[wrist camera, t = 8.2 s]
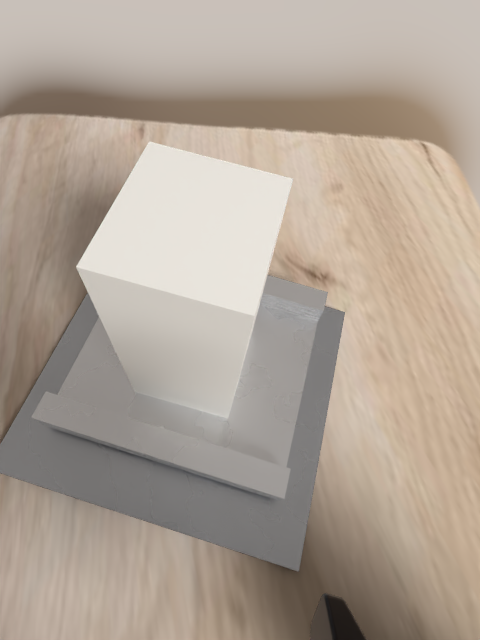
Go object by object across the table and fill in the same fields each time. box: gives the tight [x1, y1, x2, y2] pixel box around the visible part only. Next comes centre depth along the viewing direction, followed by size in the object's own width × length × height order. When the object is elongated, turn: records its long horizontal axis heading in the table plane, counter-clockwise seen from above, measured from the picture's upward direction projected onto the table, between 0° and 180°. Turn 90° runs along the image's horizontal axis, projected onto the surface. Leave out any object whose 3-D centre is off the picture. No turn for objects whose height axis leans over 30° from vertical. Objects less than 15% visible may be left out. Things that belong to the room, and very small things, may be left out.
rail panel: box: [0, 275, 345, 572], centre depth 19 cm, size 13×14×2 cm
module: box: [76, 142, 293, 418], centre depth 15 cm, size 5×5×10 cm
